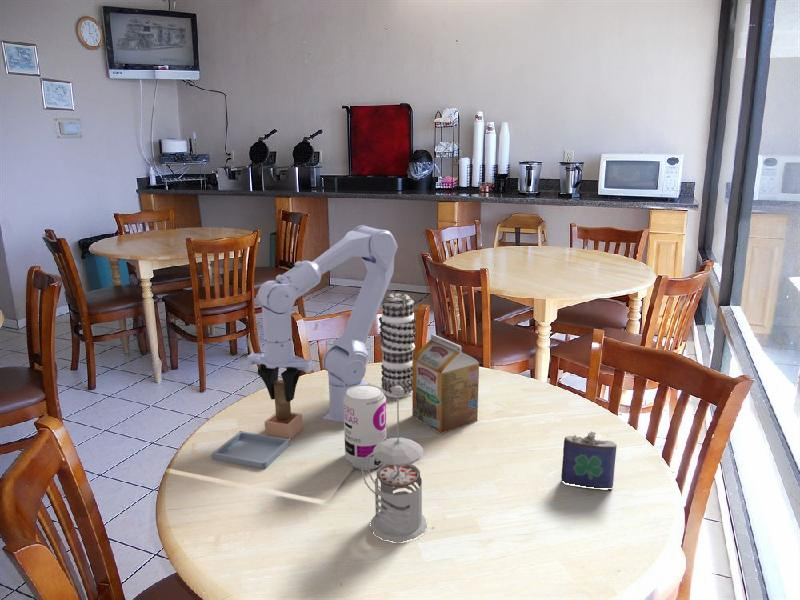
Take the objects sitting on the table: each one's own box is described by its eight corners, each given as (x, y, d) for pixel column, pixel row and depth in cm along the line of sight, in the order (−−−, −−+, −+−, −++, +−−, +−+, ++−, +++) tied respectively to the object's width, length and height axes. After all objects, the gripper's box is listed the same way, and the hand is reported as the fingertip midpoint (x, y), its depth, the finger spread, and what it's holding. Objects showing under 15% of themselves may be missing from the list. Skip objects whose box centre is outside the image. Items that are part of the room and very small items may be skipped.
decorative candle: (409, 400, 148) (409, 302, 142) (374, 395, 152) (372, 298, 145) (421, 386, 157) (421, 292, 150) (388, 381, 160) (387, 289, 153)
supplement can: (393, 455, 123) (392, 387, 119) (374, 475, 116) (373, 403, 112) (358, 447, 127) (356, 380, 123) (338, 466, 120) (335, 396, 116)
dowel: (293, 415, 132) (291, 380, 130) (286, 421, 129) (284, 386, 127) (280, 413, 133) (278, 379, 131) (273, 419, 130) (270, 384, 128)
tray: (290, 447, 127) (290, 439, 126) (265, 471, 118) (264, 463, 117) (240, 438, 131) (240, 430, 130) (212, 461, 122) (211, 453, 121)
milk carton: (477, 420, 138) (479, 341, 133) (440, 433, 132) (441, 351, 127) (448, 404, 146) (449, 329, 141) (412, 415, 141) (412, 338, 136)
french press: (408, 551, 95) (408, 404, 89) (349, 527, 101) (344, 388, 95) (438, 518, 103) (440, 381, 97) (381, 497, 109) (379, 367, 103)
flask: (612, 484, 113) (617, 432, 110) (613, 493, 110) (618, 439, 107) (561, 477, 115) (564, 426, 112) (560, 485, 113) (564, 433, 110)
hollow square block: (302, 430, 134) (301, 413, 133) (289, 442, 129) (288, 425, 128) (279, 426, 136) (278, 410, 135) (265, 438, 131) (264, 421, 129)
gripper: (237, 341, 125) (242, 401, 129) (300, 348, 120) (303, 411, 124) (255, 330, 131) (260, 388, 135) (316, 337, 127) (319, 397, 131)
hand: (282, 398), depth 130 cm, fingers closed on dowel, 3 cm apart
